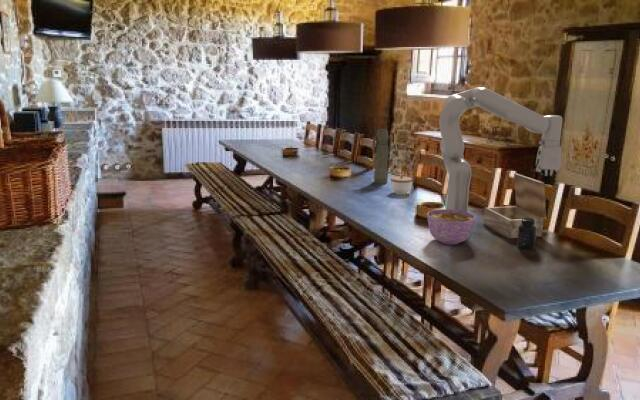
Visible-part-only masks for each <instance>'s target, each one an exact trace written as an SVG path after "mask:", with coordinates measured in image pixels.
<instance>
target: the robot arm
mask: <svg viewBox="0 0 640 400" xmlns="http://www.w3.org/2000/svg"><path fill="white" fill-rule="evenodd" d="M477 107H479V108H480V109H483V110H484V111H486V112H489V113H490V114H492V115H495V116H497V117H499V118H500V119H503V120H505V121H507V122H512V123H515V124H516V125H519V126H522V127H524V128H525V130H527V131H528V132H532V133H535V134H541V140H540V141H539V142H538V144H539V145H540V146H538V150H537V154H536V159H535V167H536V168H535V172H537V173H540V174H541V175H542V179H541V182H544V186H545V185H548V186H549V185H550V183H551V177H552V175H554V173H555V172H559V170H560V169H561V168H562V159H563V155H562V153H563V151H562V146H560V144H561V136H562V135H561V134H562V126H563V117H562V116H561V115H556V114H555V115H554V114H549V115H543V114H541V113H538V112H537V111H534V110H532V109H530V108H528V107H526V106H523V105H522V104H519V103H518V102H516V101H513V100H512V99H509V98H507V97H506V96H504V95H502V94H499V93H497V92H495V91H493V90H491V89H490V88H488V87H487V88H486V87H484V86H483V87H482V86H481V87H480V86H479V87H474V88H471V89H467V90H464V91H460V92H458V93H455V94H451V95H449V96H448V97H446V99H445V101H444V104H443V109H441V113H440V115H439V121H438V125H439V126H438V127H439V130H440V135H441V136H440V137H441V140H440V143H439V145H440V148H439V149H440V152H441V155H442V160H443V163H444V164H443V165H444V168H445V170H446V172H447V174H448V182H447V191H446V192H447V194H446V207H445V208H446V209H450V210H460V211H465V212H468V209H469V198H470V197H469V196H470V195H469V194H470V184H471V179H472V167H471V165H470V164H469V162H468V161H466V160H465V156H464V151H465V143H464V139H463V135H462V132H461V127H460V126H461V125H460V118H461V117H462V115H463V114H464V113H465V112H466V111H467V110H470V109H473V108H477Z"/></svg>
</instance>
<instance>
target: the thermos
mask: <svg viewBox="0 0 640 400" xmlns="http://www.w3.org/2000/svg"><path fill="white" fill-rule="evenodd" d="M375 135H376V136H374V137H373V139H372V153H374V158H375V164H374V172H373V179H374V180H373V183H374V184H375V185H376V184H377V185H386V184H388V179H389V178H388V177H389V176H388V175H389V171H388V158H389V154H390V152H391V151H392V149H391V148H392V147H391V145H392V138H391V137H390V136H389V132H388V129H386V128H378V129H377V131H376V134H375Z"/></svg>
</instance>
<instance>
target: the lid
mask: <svg viewBox="0 0 640 400" xmlns="http://www.w3.org/2000/svg"><path fill="white" fill-rule="evenodd" d="M513 180H514V194H515V206H517V207H519V208H521V209H523V210H525V211H528V212H530V213H532V214H534V215H536V216H539V217H541V218H543V219H547V211H546V209H547V207H546V206H547V205H546V192H545V191H546V189H545V184H544V182H542V180H541V181H540V180H537V179H534V178H532V177H528V176H525V175H524V174H520V173H513Z"/></svg>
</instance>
